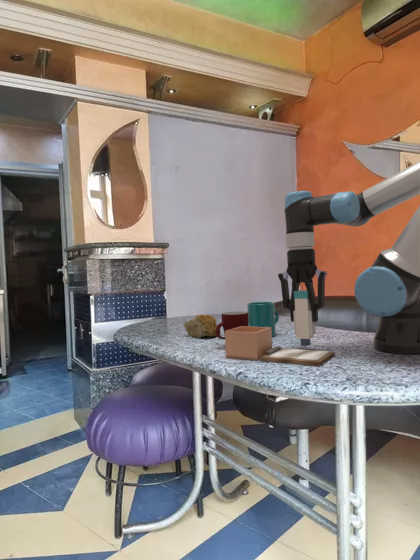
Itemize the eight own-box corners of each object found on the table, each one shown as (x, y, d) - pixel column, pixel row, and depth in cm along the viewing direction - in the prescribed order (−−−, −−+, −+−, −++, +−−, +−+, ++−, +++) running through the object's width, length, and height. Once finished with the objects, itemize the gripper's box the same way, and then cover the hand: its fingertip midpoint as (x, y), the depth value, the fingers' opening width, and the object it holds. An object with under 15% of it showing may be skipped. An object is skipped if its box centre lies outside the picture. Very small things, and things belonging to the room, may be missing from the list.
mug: (226, 351, 116) (225, 316, 116) (210, 347, 123) (209, 314, 122) (255, 345, 122) (253, 312, 121) (238, 342, 128) (237, 310, 128)
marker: (314, 343, 114) (311, 290, 113) (310, 346, 111) (307, 291, 110) (301, 343, 116) (298, 290, 115) (296, 345, 113) (293, 291, 112)
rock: (193, 350, 144) (180, 325, 145) (210, 341, 150) (197, 317, 151) (212, 339, 135) (197, 312, 137) (229, 330, 141) (215, 305, 143)
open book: (334, 355, 104) (333, 347, 104) (319, 366, 94) (319, 357, 94) (279, 351, 112) (278, 344, 112) (260, 361, 102) (259, 353, 102)
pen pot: (272, 353, 111) (271, 327, 110) (257, 360, 103) (256, 332, 103) (242, 350, 116) (241, 326, 115) (225, 357, 108) (224, 331, 108)
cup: (287, 334, 139) (286, 301, 138) (260, 339, 132) (258, 304, 132) (270, 331, 146) (268, 300, 146) (243, 336, 140) (241, 303, 140)
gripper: (334, 246, 111) (339, 332, 112) (277, 251, 120) (281, 330, 121) (326, 246, 105) (331, 337, 105) (267, 251, 114) (271, 334, 114)
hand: (305, 333), depth 113 cm, fingers closed on marker, 4 cm apart
